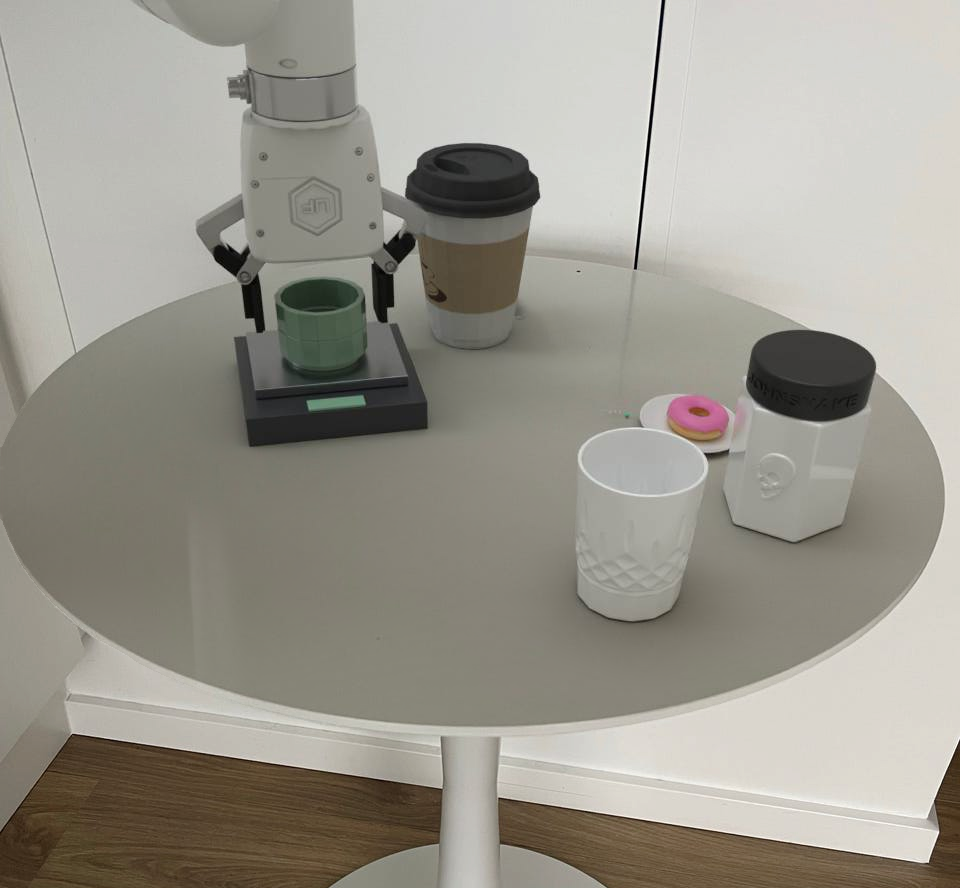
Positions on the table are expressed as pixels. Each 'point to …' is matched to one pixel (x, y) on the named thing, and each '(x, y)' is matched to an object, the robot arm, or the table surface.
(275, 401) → the scale
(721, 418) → the donut
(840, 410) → the jar
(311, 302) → the bowl
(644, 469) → the white cup
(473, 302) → the coffee cup
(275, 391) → the scale platform
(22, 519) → the table surface
